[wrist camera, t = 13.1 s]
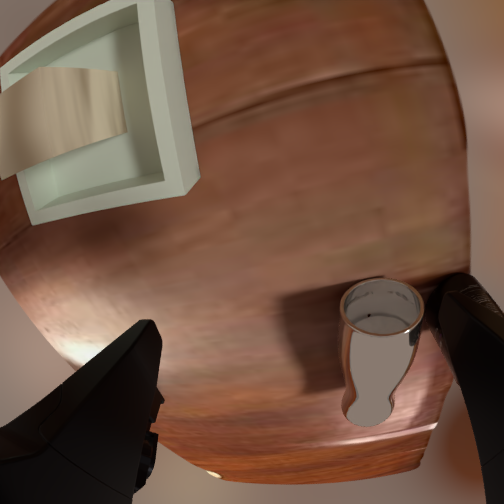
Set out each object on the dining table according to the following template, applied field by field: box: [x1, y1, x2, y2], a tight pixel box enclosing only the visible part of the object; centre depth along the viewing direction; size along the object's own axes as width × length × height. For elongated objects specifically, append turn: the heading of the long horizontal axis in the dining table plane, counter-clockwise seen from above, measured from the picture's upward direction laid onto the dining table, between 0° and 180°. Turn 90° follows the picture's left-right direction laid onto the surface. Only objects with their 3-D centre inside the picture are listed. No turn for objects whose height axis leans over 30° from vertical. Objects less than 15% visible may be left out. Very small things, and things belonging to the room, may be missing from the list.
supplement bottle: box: [425, 274, 504, 386], centre depth 18 cm, size 7×7×12 cm
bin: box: [0, 0, 200, 226], centre depth 15 cm, size 13×13×4 cm
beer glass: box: [338, 278, 424, 427], centre depth 23 cm, size 7×7×15 cm
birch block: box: [0, 67, 128, 180], centre depth 13 cm, size 4×4×8 cm
